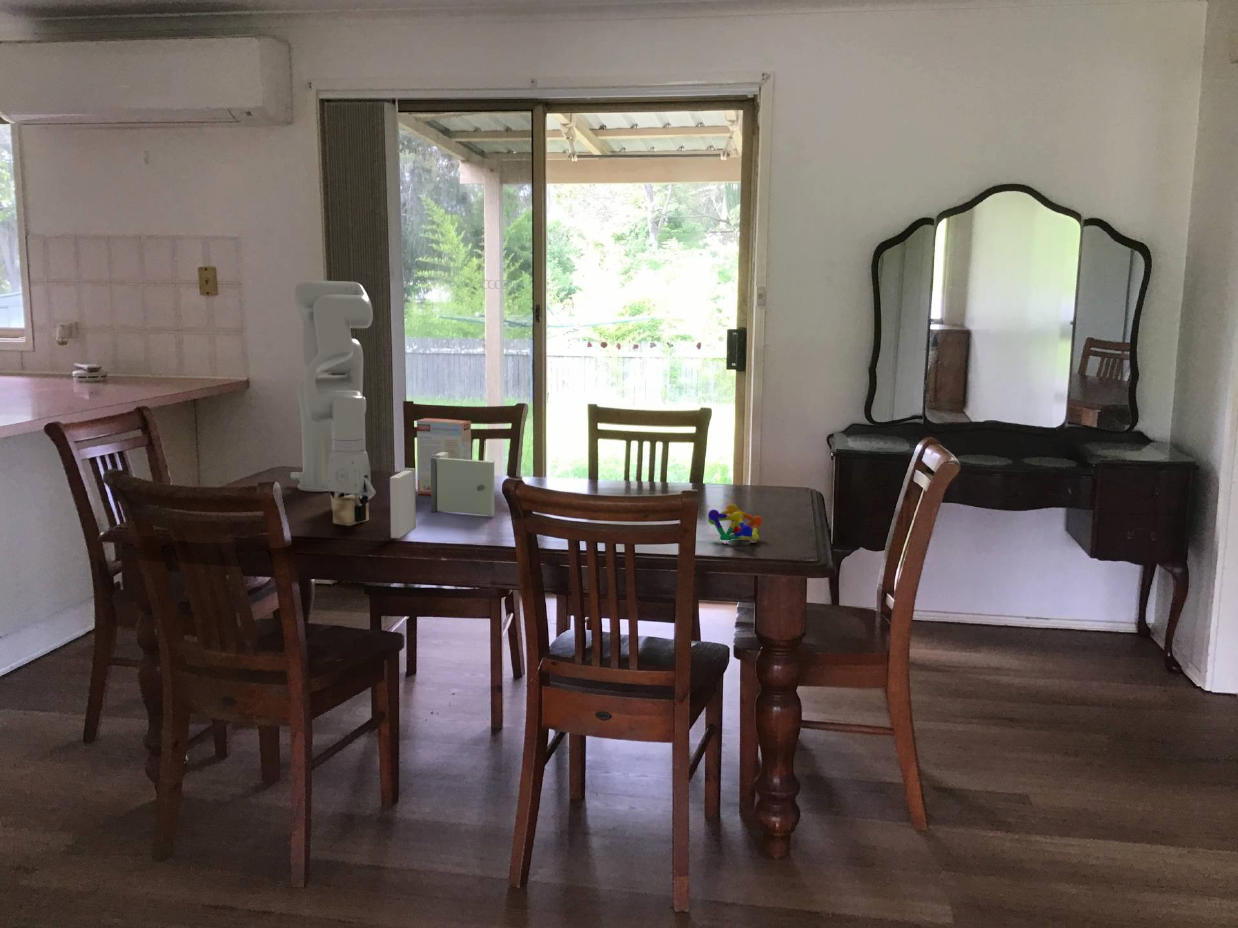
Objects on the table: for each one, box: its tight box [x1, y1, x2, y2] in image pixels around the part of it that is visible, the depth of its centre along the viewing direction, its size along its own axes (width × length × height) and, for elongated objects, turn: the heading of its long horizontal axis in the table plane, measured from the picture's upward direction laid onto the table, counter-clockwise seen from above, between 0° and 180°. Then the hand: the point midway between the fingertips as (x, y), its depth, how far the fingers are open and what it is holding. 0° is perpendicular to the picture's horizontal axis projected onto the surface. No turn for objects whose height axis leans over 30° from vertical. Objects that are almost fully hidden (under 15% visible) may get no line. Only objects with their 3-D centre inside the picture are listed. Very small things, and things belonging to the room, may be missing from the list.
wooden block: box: [332, 495, 370, 527], centre depth 239 cm, size 5×7×6 cm
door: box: [430, 457, 495, 516], centre depth 249 cm, size 17×3×14 cm, turn 74°
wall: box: [389, 452, 449, 539], centre depth 242 cm, size 2×37×14 cm, turn 172°
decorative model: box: [707, 503, 764, 540], centre depth 229 cm, size 13×9×15 cm
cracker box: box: [416, 417, 472, 496], centre depth 272 cm, size 14×6×21 cm, turn 71°
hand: (351, 518), depth 240 cm, fingers open, 5 cm apart
